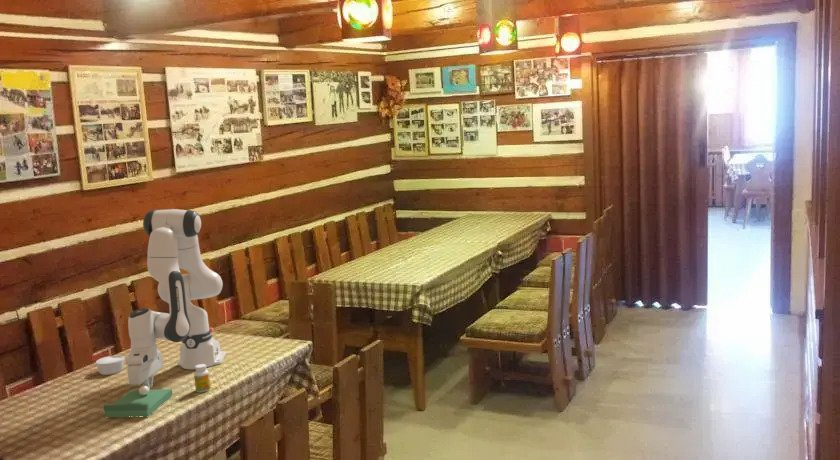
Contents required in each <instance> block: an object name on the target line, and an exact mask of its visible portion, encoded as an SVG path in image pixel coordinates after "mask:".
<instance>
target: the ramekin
mask: <svg viewBox="0 0 840 460" xmlns="http://www.w3.org/2000/svg"><path fill="white" fill-rule="evenodd" d="M125 360H126V358H125V356H123V355H108V356H104V357H101V358H99V359H97V360H96V361H95V365H96V367H97V370H98V373H99V374H100V375H104V376H108V375H109V376H110V375H115V374H118V373H120V372H123V370H124V368H125Z"/></svg>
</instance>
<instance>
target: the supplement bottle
mask: <svg viewBox="0 0 840 460" xmlns="http://www.w3.org/2000/svg"><path fill="white" fill-rule="evenodd" d="M194 370H195V371H194V372H193V373H194V374H193V376H194V383H195V384H194V385H195V391H196V392H197V393H205V392H209V391H210V390H211V380H210V371H209V369H207V367H206V365H205V364H199V365H196V366H195V369H194Z"/></svg>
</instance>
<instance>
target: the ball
mask: <svg viewBox="0 0 840 460" xmlns="http://www.w3.org/2000/svg"><path fill="white" fill-rule="evenodd" d="M138 390H139V393H140V394H141V395H143V396H145V395H147V394H148V393H149V390H150V389H149V388H148V387H147V386H144V385H140V387H139V388H138Z"/></svg>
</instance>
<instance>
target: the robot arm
mask: <svg viewBox="0 0 840 460" xmlns="http://www.w3.org/2000/svg"><path fill="white" fill-rule="evenodd" d="M142 228H143V230H144V232H145V234H146V235H147V236H148V237H149V240H148V246H147V257H146V258H147V259H146V261H147V262H146V263H147V264H146V265H147V271H148V273H149V276H151V277H152V278H153V279H154V280H155V281H157V282H158V285H157V293H158V295H159V297H160V299H161V300H162V301H163V302H165V303H167V304H168V308H169V313H168V312H159V311H156V310H155V311H154V310H152V309H150V308H148V307H144V308H143V307H141V308H138V309H135V310H134V311H132V312H130V313H129V316H128V318H127V319H128V321H127V322H128V323H127V327H128V328H127V329H128V335H129V339H130V351H129V353H128V355H127V356H126V358H125V360H124V362H125V365H126V366H127V369H126V370H127V378H128V382H129V385H130V386H141V385H142V384H143V386H147V387H148V388H149V390H151V388H153V385H154V384H153V382H154V375H155V374H156V373H158V372H159V371H161V370H162V369H163V367H164V361H163V356H162V351H160V349H159V347H158V346H157V342H156V341H157V339H162V340H167V341H170V342H173V343H180V342H181V344H180V345H179V361H178V362H177V366H180V367H181V368H182V369H185V370H195V366H196V365H199V364H205V365H206V368H209V367H212V366H216V365H221V364H222V363H223V360H224V358H225V357H226V354H227V351H226V350H221V344H220V342H219V341H218V340H217V339H215V338H214V337H213V335H212V333H214V328H213V327H210V325H209V317H208V312H207V311H206V309H204V308H202V307H200V306H197V305H194V304H193V303H192V301H193V300H194V301H195V300H201V299H202V300H203V299H209V298H213V297H216V296H218V295H220V294H221V292H222V290H223V287H224V286H223V285H224V283H223V280H222V277H221V275H219V273H217V272H215V271H214V270H212V269H210V268H209V267H208V266H207V265H206V263H204V261H203V258H202V254H201V249H200V243H199V236H198V234H199V233H200V232H201V230H202V218H201V216H200V214H199V213H198V212H197V211H195V210H191V209H187V210H186V209H176V208H172V209H171V208H170V209H152V210H148V211H147V212H146V214H145V215H144V217H143V220H142ZM181 270H184V271H186V272H187V273H183V274H182V273H181Z"/></svg>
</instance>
